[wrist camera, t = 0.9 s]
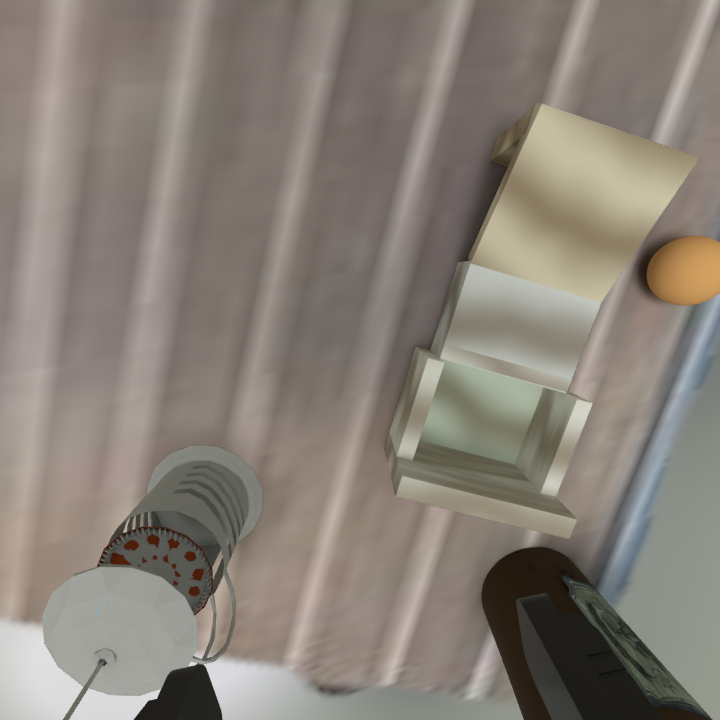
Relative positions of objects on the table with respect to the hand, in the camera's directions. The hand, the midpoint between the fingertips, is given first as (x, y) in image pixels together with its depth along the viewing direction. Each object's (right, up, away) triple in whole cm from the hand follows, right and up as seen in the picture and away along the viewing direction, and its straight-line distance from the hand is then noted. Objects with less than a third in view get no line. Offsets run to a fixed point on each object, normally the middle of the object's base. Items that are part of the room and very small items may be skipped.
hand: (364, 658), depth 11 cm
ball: (+24, +14, +20) cm, 34 cm away
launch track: (+11, +10, +23) cm, 28 cm away
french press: (-13, -5, +26) cm, 29 cm away
